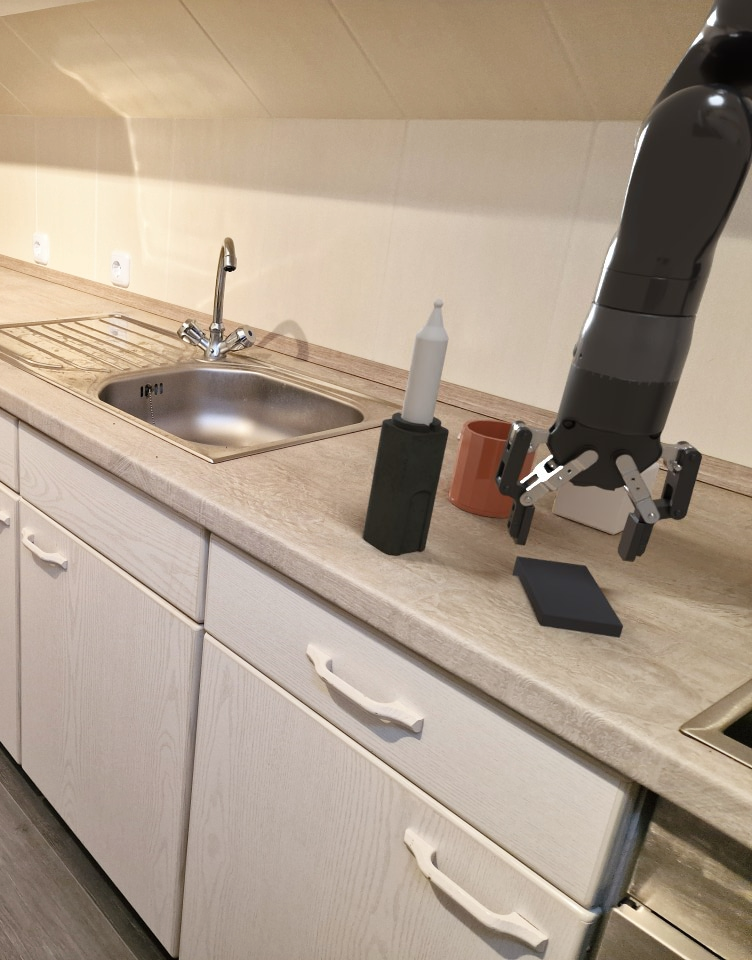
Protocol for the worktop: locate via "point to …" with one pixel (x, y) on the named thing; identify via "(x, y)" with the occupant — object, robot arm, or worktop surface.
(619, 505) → the medicine bottle
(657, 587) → the worktop surface
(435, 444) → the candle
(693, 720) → the worktop surface
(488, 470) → the cup
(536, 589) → the dark grey block
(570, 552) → the worktop surface
